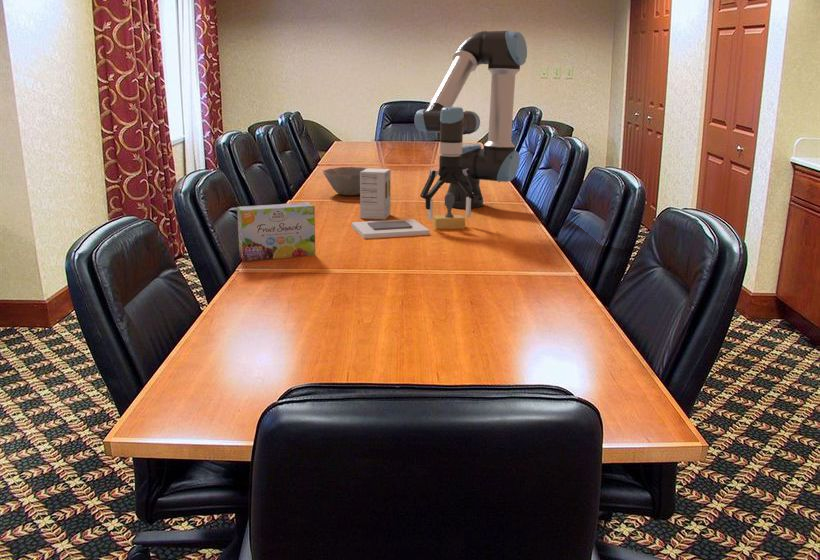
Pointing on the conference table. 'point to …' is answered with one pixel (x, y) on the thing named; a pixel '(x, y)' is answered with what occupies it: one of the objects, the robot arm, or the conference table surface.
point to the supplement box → (375, 193)
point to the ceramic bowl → (344, 179)
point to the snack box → (276, 231)
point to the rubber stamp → (449, 216)
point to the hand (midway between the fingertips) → (449, 217)
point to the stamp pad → (390, 228)
